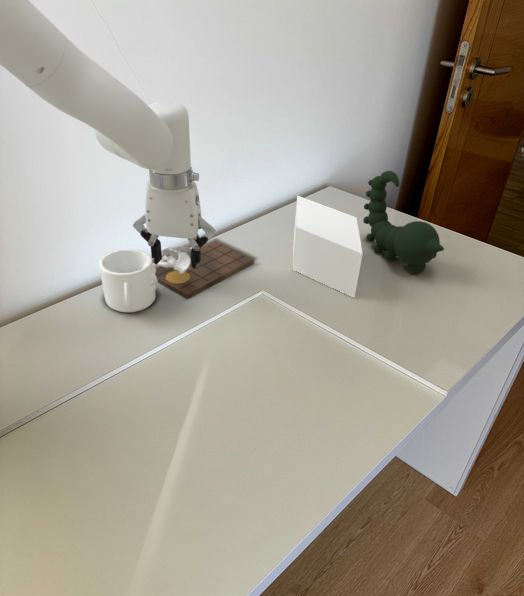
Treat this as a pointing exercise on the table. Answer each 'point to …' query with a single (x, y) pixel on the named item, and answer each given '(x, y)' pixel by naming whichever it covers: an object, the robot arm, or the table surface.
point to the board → (204, 270)
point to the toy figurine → (398, 230)
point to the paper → (327, 246)
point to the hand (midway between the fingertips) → (176, 262)
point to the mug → (128, 280)
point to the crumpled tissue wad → (179, 252)
